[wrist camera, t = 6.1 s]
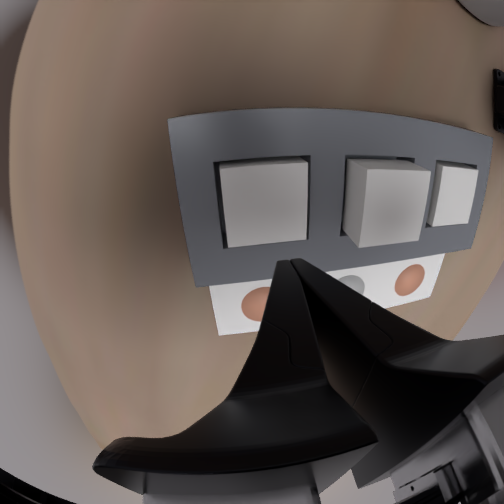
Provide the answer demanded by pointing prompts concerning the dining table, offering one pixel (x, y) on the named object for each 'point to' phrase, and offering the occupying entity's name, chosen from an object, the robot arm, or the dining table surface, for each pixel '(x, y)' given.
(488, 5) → the cylinder vase
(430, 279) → the pattern card
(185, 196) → the button board
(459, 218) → the button
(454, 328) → the dining table surface
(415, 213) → the button middle
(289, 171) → the button
